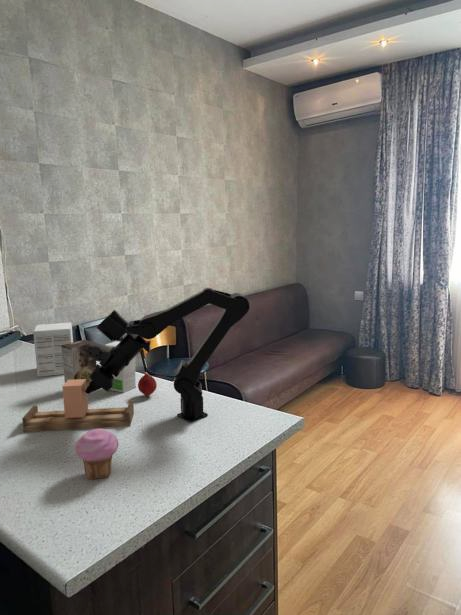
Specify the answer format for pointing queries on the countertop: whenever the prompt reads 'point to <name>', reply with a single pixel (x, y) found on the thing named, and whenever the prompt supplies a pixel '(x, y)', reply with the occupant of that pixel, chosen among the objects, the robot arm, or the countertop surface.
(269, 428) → the countertop surface
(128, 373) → the skincare box
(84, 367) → the coffee box
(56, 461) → the countertop surface
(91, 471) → the cupcake
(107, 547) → the countertop surface
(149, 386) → the onion
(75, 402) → the block
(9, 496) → the countertop surface
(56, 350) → the supplement box
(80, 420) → the wooden slide track
